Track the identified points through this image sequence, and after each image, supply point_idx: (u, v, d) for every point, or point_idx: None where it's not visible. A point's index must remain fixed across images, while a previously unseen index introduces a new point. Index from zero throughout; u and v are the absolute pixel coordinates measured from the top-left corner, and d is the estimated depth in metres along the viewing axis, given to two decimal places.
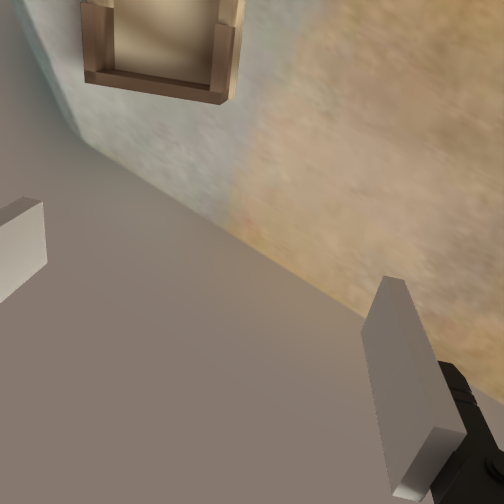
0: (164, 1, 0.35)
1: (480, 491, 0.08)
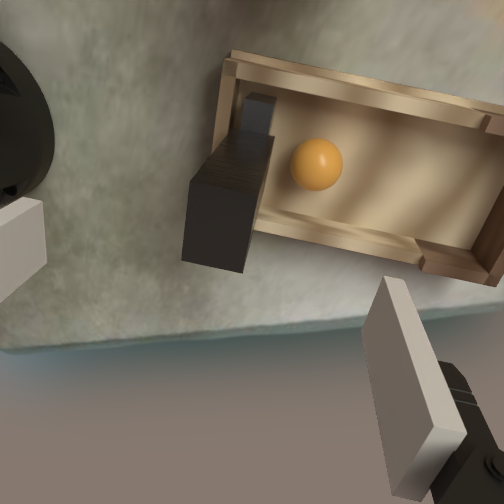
0: (421, 186, 0.33)
1: (480, 491, 0.08)
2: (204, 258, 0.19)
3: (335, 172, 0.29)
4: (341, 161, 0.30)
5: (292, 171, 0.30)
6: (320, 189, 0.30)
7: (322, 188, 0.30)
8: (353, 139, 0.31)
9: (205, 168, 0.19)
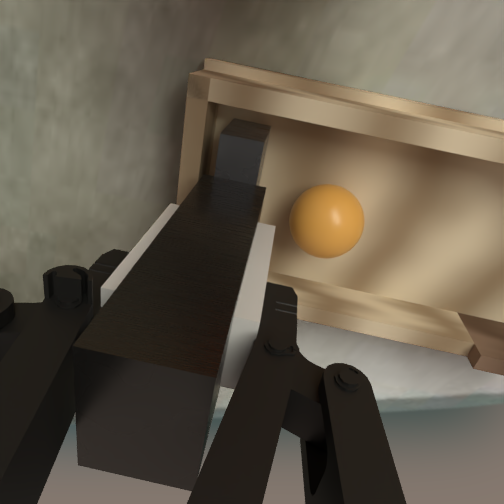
0: (471, 246, 0.23)
1: (263, 368, 0.10)
2: (120, 465, 0.10)
3: (353, 236, 0.20)
4: (363, 218, 0.21)
5: (292, 231, 0.21)
6: (332, 257, 0.21)
7: (335, 256, 0.21)
8: (378, 183, 0.22)
9: (124, 291, 0.10)
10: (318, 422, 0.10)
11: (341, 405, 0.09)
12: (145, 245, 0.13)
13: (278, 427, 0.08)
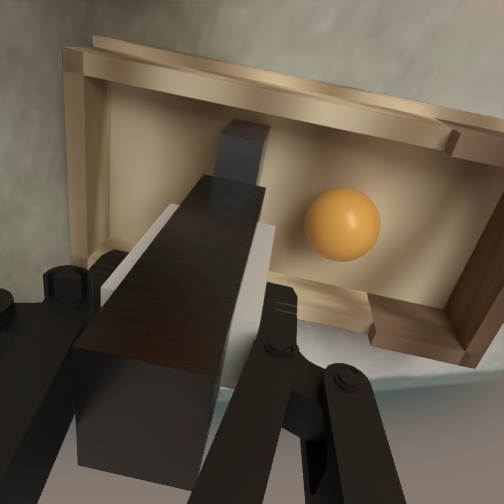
0: None
1: (263, 368, 0.10)
2: (120, 465, 0.10)
3: None
4: (313, 201, 0.21)
5: None
6: None
7: None
8: (274, 161, 0.22)
9: (123, 291, 0.10)
10: (318, 422, 0.10)
11: (341, 405, 0.09)
12: (145, 245, 0.13)
13: (278, 427, 0.08)
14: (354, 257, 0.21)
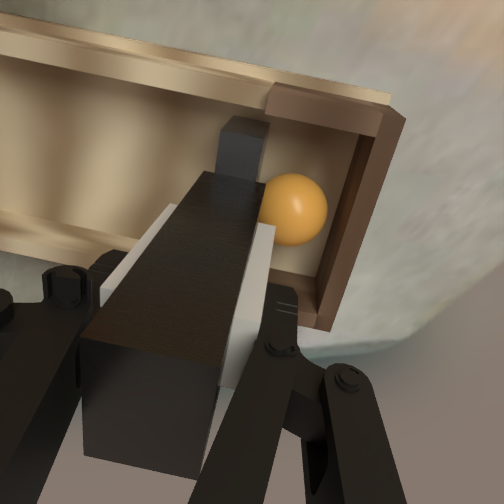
0: None
1: (264, 368, 0.10)
2: (125, 455, 0.10)
3: (306, 224, 0.20)
4: (321, 208, 0.21)
5: None
6: (289, 245, 0.21)
7: (291, 244, 0.21)
8: (131, 128, 0.23)
9: (128, 284, 0.10)
10: (319, 422, 0.10)
11: (342, 405, 0.09)
12: (144, 245, 0.13)
13: (279, 427, 0.08)
14: None
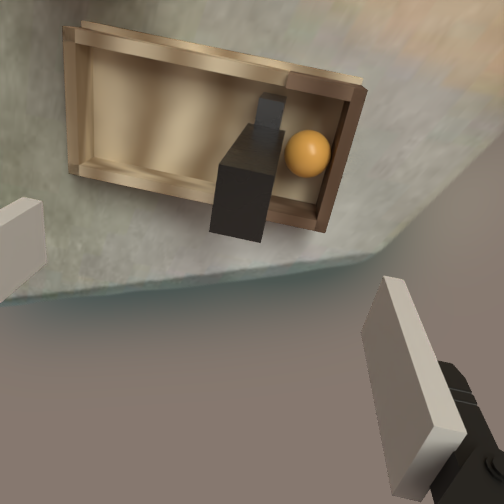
0: None
1: (480, 491, 0.08)
2: (228, 230, 0.23)
3: (324, 160, 0.33)
4: (330, 149, 0.34)
5: (286, 160, 0.34)
6: (311, 175, 0.34)
7: (313, 174, 0.34)
8: (197, 101, 0.35)
9: (229, 154, 0.23)
10: None
11: None
12: None
13: None
14: None
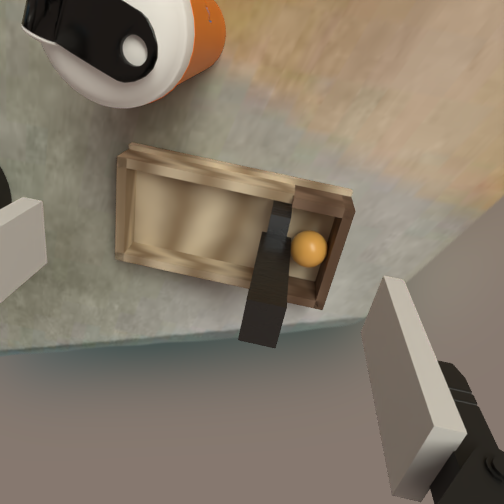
0: None
1: (480, 491, 0.08)
2: (252, 339, 0.31)
3: (322, 256, 0.42)
4: (326, 247, 0.42)
5: (292, 254, 0.43)
6: (312, 266, 0.43)
7: (313, 266, 0.43)
8: (220, 204, 0.44)
9: (253, 284, 0.31)
10: None
11: None
12: None
13: None
14: None
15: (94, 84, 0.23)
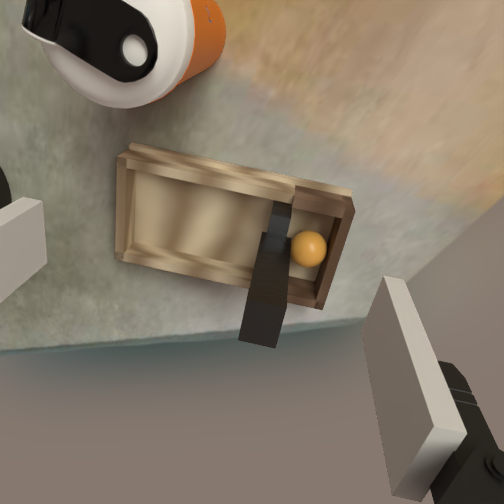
0: None
1: (480, 491, 0.08)
2: (252, 339, 0.31)
3: (321, 256, 0.42)
4: (326, 247, 0.42)
5: (291, 254, 0.43)
6: (311, 266, 0.43)
7: (313, 266, 0.43)
8: (220, 204, 0.44)
9: (253, 284, 0.31)
10: None
11: None
12: None
13: None
14: None
15: (94, 84, 0.23)
